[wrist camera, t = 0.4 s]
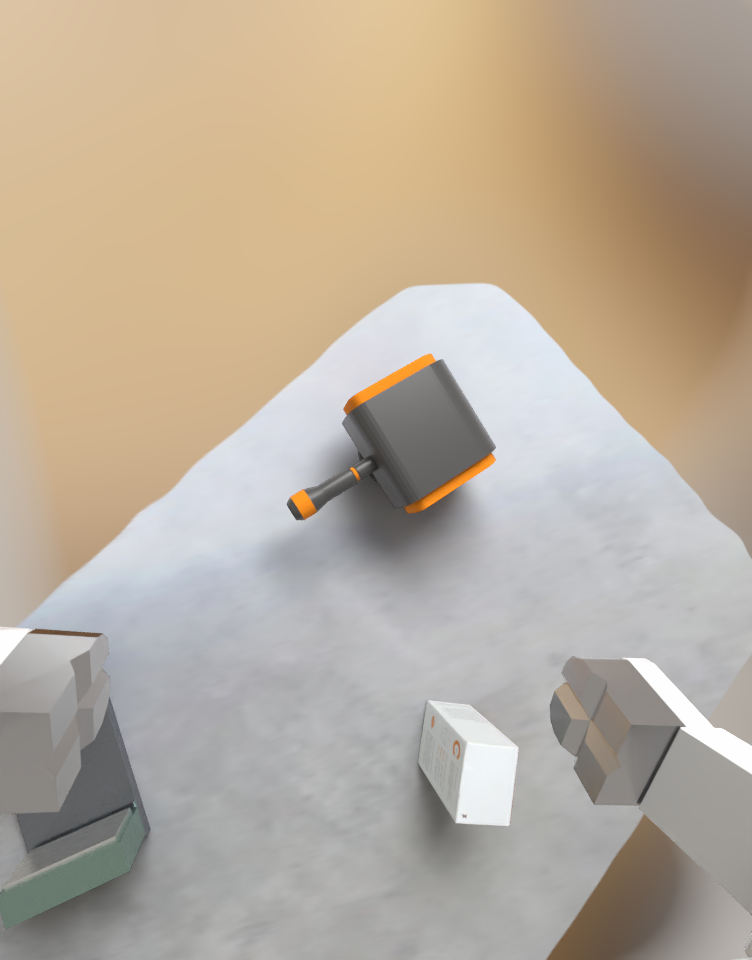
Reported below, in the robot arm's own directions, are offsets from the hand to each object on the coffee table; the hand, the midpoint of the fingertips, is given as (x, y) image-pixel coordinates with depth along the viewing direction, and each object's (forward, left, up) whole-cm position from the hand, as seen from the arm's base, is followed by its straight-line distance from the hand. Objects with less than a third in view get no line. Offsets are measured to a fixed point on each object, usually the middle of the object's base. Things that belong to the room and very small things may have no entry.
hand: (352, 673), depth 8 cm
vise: (-15, +29, -53) cm, 62 cm away
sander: (+7, -14, -53) cm, 55 cm away
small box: (-30, -12, -53) cm, 62 cm away
